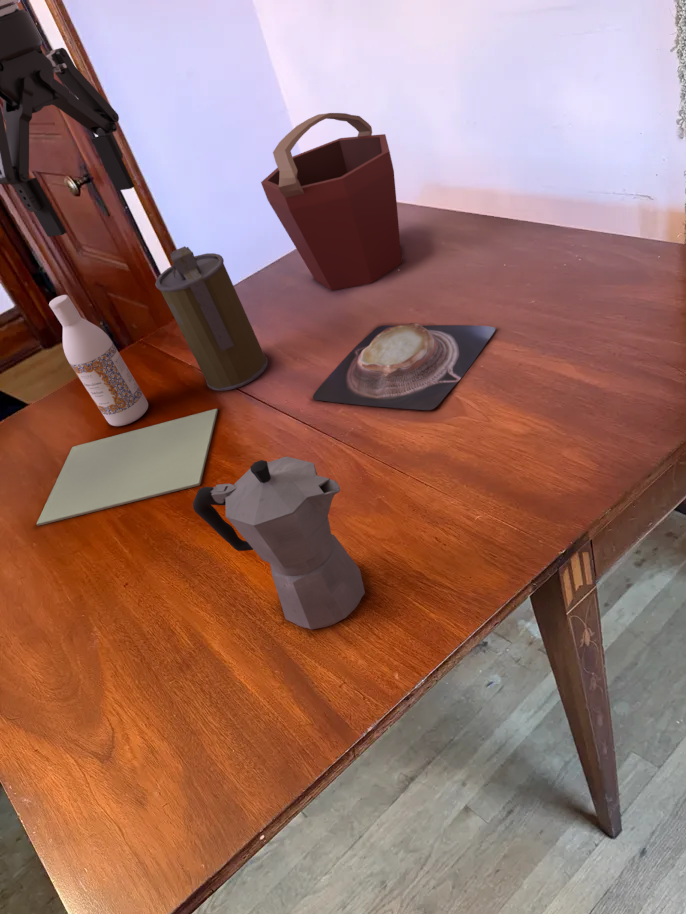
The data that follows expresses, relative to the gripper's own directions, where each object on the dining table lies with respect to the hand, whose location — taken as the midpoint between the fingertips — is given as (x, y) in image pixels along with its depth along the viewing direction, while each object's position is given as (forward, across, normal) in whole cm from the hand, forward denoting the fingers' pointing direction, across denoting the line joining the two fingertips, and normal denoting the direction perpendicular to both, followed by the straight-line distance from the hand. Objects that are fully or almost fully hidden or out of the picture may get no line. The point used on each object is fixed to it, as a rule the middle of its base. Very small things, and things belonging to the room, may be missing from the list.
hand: (93, 210), depth 96 cm
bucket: (+29, +42, -8) cm, 52 cm away
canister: (+30, +8, -3) cm, 31 cm away
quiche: (+30, +11, -32) cm, 45 cm away
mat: (+30, -15, +1) cm, 34 cm away
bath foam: (+30, -3, +11) cm, 32 cm away
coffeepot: (+30, -32, -40) cm, 60 cm away
